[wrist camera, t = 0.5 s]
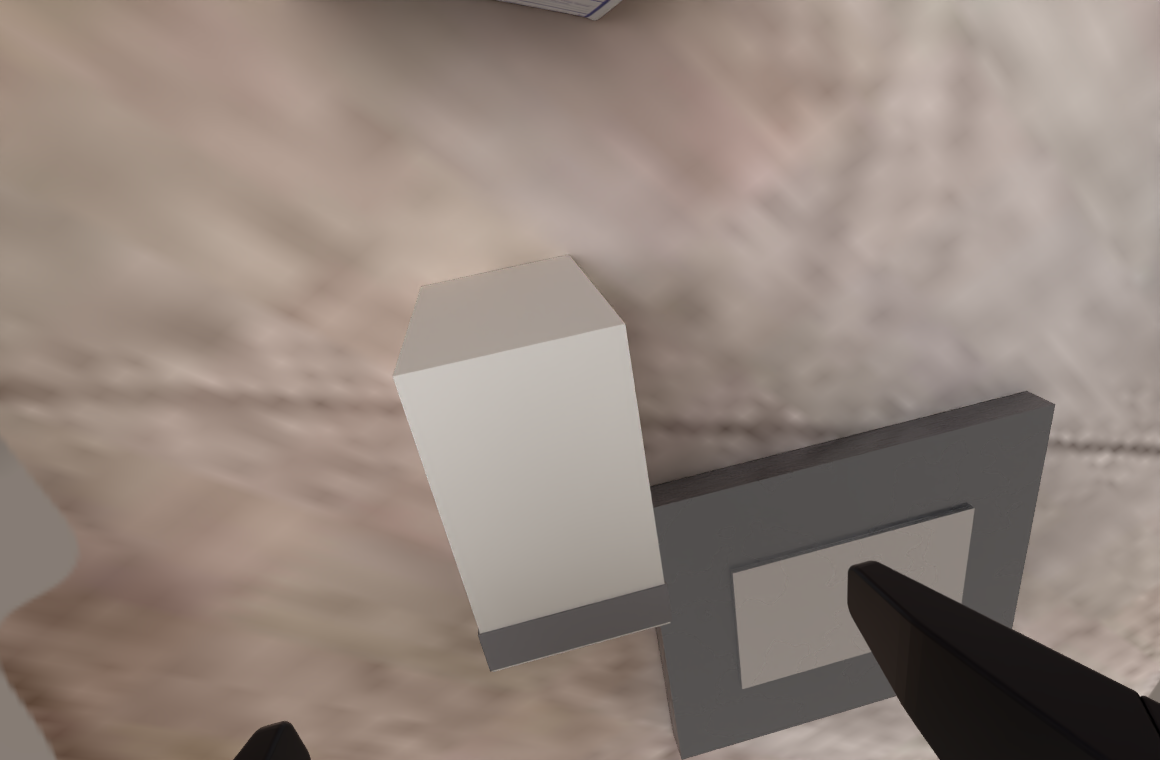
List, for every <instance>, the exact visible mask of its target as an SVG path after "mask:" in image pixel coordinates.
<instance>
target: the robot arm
mask: <svg viewBox="0 0 1160 760" xmlns="http://www.w3.org/2000/svg"><path fill="white" fill-rule="evenodd" d="M847 605H848V609H849V612H850V614H851V617H852V619H853V620H854V622H855V624H856V626H857V627H858V629H859V631H860V633H861V634H862V636H863V638H864V640H865V641H866V643H867V645H868V647H869V648H870V650H871V652H872V654H873V656H874V657H875V659H876V661H877V663H878V664H879V666H880V668H881V670H882V671H883V673H884V675H885V677H886V678H887V680H888V682H889V684H890V685H891V687H892V689H893V691H894V692H895V694H896V696H897V697H898V699H899V701H900V702H901V704H902V706H903V707H904V709H905V710H906V712H907V713H908V715H909V716H910V718H911V719H912V721H913V722H914V724H915V725H916V727H917V728H918V729H919V731H920V732H921V734H922V735H923V737H924V738H925V739H926V741H927V742H928V744H929V745H930V747H931V748H932V749H933V751H934V752H935V754H936V755H937V757H938V758H939V759H940V760H1160V703H1158V702H1156V701H1154V700H1152V699H1150V698H1148V697H1146V696H1139V694H1138V693H1137V692H1136V691H1134V690H1132V689H1130V688H1128V687H1126V686H1124V685H1122V684H1120V683H1118V682H1116V681H1114V680H1112V679H1110V678H1108V677H1106V676H1104V675H1102V674H1100V673H1098V672H1096V671H1094V670H1092V669H1090V668H1088V667H1086V666H1084V665H1082V664H1080V663H1078V662H1076V661H1074V660H1072V659H1070V658H1068V657H1066V656H1064V655H1062V654H1060V653H1058V652H1056V651H1054V650H1052V649H1050V648H1049V647H1047V646H1045V645H1043V644H1041V643H1039V642H1037V641H1035V640H1033V639H1031V638H1029V637H1027V636H1025V635H1023V634H1021V633H1019V632H1017V631H1015V630H1013V629H1011V628H1009V627H1007V626H1005V625H1003V624H1001V623H999V622H997V621H995V620H993V619H991V618H989V617H987V616H985V615H983V614H981V613H979V612H977V611H975V610H973V609H971V608H969V607H967V606H965V605H963V604H961V603H959V602H957V601H955V600H953V599H951V598H949V597H947V596H945V595H943V594H941V593H939V592H937V591H935V590H933V589H931V588H929V587H927V586H925V585H923V584H921V583H919V582H917V581H915V580H913V579H911V578H909V577H907V576H905V575H903V574H901V573H899V572H897V571H895V570H894V569H892V568H890V567H888V566H886V565H884V564H882V563H880V562H877V561H872V560H871V561H866V562H862V563H859V564H855V565H852V566H850V568H849V570H848V581H847ZM233 760H311V759H310V755H309V752H308V750H307V749H306V747H305V745H304V744H303V742H302V740H301V739H300V737H299V735H298V734H297V732H296V730H295V729H294V727H293V725H292V724H291V723H289V722H288V721H282V722H278V723H274V724H271V725H267V726H264V727H261V728H260V729H258V730H257V731H256V732H255V733H254V734H253V735H252V737H251V738H250V739H249V740H248V742H247V743H246V744H245V746H244V747H243V748H242V749H241V751H240V752H239V753H238V754H237V756H236V757H235V758H234V759H233Z"/></svg>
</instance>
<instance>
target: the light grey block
mask: <svg viewBox="0 0 1160 760" xmlns="http://www.w3.org/2000/svg"><path fill="white" fill-rule="evenodd" d="M393 379H394V382H395V385H396V388H397V391H398V394H399V397H400V400H401V403H402V405H403V408H404V411H405V414H406V417H407V420H408V423H409V426H410V429H411V432H412V435H413V438H414V441H415V444H416V447H417V450H418V452H419V455H420V458H421V461H422V464H423V467H424V470H425V473H426V476H427V479H428V482H429V485H430V488H431V491H432V494H433V497H434V499H435V502H436V505H437V508H438V511H439V514H440V517H441V520H442V523H443V526H444V529H445V532H446V535H447V538H448V541H449V543H450V546H451V549H452V552H453V555H454V558H455V561H456V564H457V567H458V570H459V573H460V576H461V579H462V582H463V585H464V588H465V590H466V593H467V596H468V599H469V602H470V605H471V608H472V611H473V614H474V617H475V620H476V623H477V626H478V637H479V640H480V643H481V646H482V649H483V652H484V654H485V657H486V660H487V663H488V666H489V669H490V671H493V672H495V671H499V670H502V669H506V668H510V667H513V666H517V665H520V664H524V663H528V662H531V661H535V660H539V659H542V658H546V657H549V656H553V655H557V654H560V653H564V652H568V651H571V650H575V649H578V648H582V647H586V646H589V645H593V644H597V643H600V642H604V641H607V640H611V639H615V638H618V637H622V636H626V635H629V634H633V633H636V632H640V631H644V630H647V629H651V628H655V627H658V626H662V625H665V624H669V623H670V622H672V614H671V607H670V600H669V594H668V587H667V583H666V581H665V579H664V576H663V570H662V564H661V557H660V551H659V544H658V537H657V531H656V524H655V517H654V511H653V504H652V498H651V491H650V484H649V478H648V471H647V465H646V458H645V451H644V445H643V438H642V431H641V425H640V418H639V412H638V405H637V398H636V392H635V385H634V379H633V372H632V365H631V359H630V352H629V346H628V339H627V332H626V326H625V323H624V322H623V320H622V319H621V318H620V317H619V315H618V314H617V313H616V312H615V310H614V309H613V308H612V307H611V306H610V304H609V303H608V302H607V301H606V299H605V298H604V297H603V296H602V294H601V293H600V292H599V291H598V290H597V288H596V287H595V286H594V285H593V283H592V282H591V281H590V280H589V278H588V277H587V276H586V275H585V274H584V272H583V271H582V270H581V269H580V267H579V266H578V265H577V264H576V262H575V261H574V260H573V259H572V257H571V256H570V255H565V256H560V257H556V258H551V259H546V260H542V261H537V262H532V263H528V264H523V265H518V266H514V267H509V268H505V269H500V270H495V271H491V272H486V273H481V274H477V275H472V276H467V277H463V278H458V279H453V280H449V281H444V282H440V283H435V284H430V285H426V286H421V288H420V291H419V294H418V298H417V301H416V304H415V307H414V310H413V313H412V317H411V320H410V323H409V326H408V329H407V333H406V336H405V339H404V342H403V345H402V349H401V352H400V355H399V358H398V361H397V364H396V368H395V371H394V374H393Z"/></svg>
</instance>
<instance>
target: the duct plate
mask: <svg viewBox="0 0 1160 760" xmlns="http://www.w3.org/2000/svg"><path fill="white" fill-rule="evenodd" d="M1054 408H1055V404H1053V403H1051V402H1049V401H1047V400H1045V399H1043V398H1041V397H1038V396H1036V395H1034V394H1032V393H1030V392H1028V391H1026V392H1022V393H1018V394H1014V395H1011V396H1007V397H1003V398H999V399H995V400H991V401H987V402H983V403H979V404H975V405H971V406H967V407H963V408H959V409H955V410H951V411H948V412H944V413H940V414H936V415H932V416H928V417H924V418H920V419H916V420H912V421H908V422H904V423H900V424H896V425H892V426H888V427H885V428H881V429H877V430H873V431H869V432H865V433H861V434H857V435H853V436H849V437H845V438H841V439H837V440H833V441H829V442H825V443H822V444H818V445H814V446H810V447H806V448H802V449H798V450H794V451H790V452H786V453H782V454H778V455H774V456H770V457H766V458H762V459H759V460H755V461H751V462H747V463H743V464H739V465H735V466H731V467H727V468H723V469H719V470H715V471H711V472H707V473H703V474H699V475H696V476H692V477H688V478H684V479H680V480H676V481H672V482H668V483H664V484H660V485H656V486H652V487H650V491H651V498H652V504H653V511H654V517H655V524H656V531H657V537H658V544H659V551H660V557H661V564H662V570H663V576H664V579H665V581H666V583H667V587H668V594H669V600H670V607H671V614H672V622H670V623H669V624H665V625H662V626H658V627H656V632H657V638H658V645H659V651H660V657H661V663H662V669H663V675H664V681H665V687H666V693H667V699H668V705H669V711H670V717H671V723H672V730H673V735H674V738H675V741H676V744H677V747H678V750H679V753H680V756H681V759H682V760H683V759H686V758H689V757H693V756H696V755H699V754H703V753H706V752H709V751H713V750H716V749H720V748H723V747H726V746H730V745H733V744H736V743H740V742H743V741H746V740H750V739H753V738H756V737H760V736H763V735H767V734H770V733H773V732H777V731H780V730H783V729H787V728H790V727H793V726H797V725H800V724H804V723H807V722H810V721H814V720H817V719H820V718H824V717H827V716H830V715H834V714H837V713H841V712H844V711H847V710H851V709H854V708H857V707H861V706H864V705H867V704H871V703H874V702H877V701H881V700H884V699H888V698H891V697H894V696H896V694H895V692H894V691H893V689H892V687H891V685H890V684H889V682H888V680H887V678H886V677H885V675H884V673H883V671H882V670H881V668H880V666H879V664H878V663H877V661H876V659H875V657H874V656H873V654H872V652H871V650H870V648H869V647H868V645H867V643H866V641H865V640H864V638H863V636H862V634H861V633H860V631H859V629H858V627H857V626H856V624H855V622H854V620H853V619H852V617H851V614H850V612H849V609H848V605H847V581H848V570H849V568H850V566H852V565H855V564H859V563H862V562H866V561H871V560H872V561H877V562H880V563H882V564H884V565H886V566H888V567H890V568H892V569H894V570H895V571H897V572H899V573H901V574H903V575H905V576H907V577H909V578H911V579H913V580H915V581H917V582H919V583H921V584H923V585H925V586H927V587H929V588H931V589H933V590H935V591H937V592H939V593H941V594H943V595H945V596H947V597H949V598H951V599H953V600H955V601H957V602H959V603H961V604H963V605H965V606H967V607H969V608H971V609H973V610H975V611H977V612H979V613H981V614H983V615H985V616H987V617H989V618H991V619H993V620H995V621H997V622H999V623H1001V624H1003V625H1005V626H1007V627H1009V628H1011V629H1012V626H1013V621H1014V615H1015V610H1016V605H1017V600H1018V595H1019V589H1020V584H1021V579H1022V574H1023V569H1024V564H1025V558H1026V553H1027V548H1028V543H1029V538H1030V532H1031V527H1032V522H1033V517H1034V512H1035V507H1036V501H1037V496H1038V491H1039V486H1040V481H1041V475H1042V470H1043V465H1044V460H1045V455H1046V450H1047V444H1048V439H1049V434H1050V429H1051V424H1052V419H1053V413H1054Z"/></svg>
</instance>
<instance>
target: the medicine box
mask: <svg viewBox="0 0 1160 760" xmlns="http://www.w3.org/2000/svg"><path fill="white" fill-rule="evenodd" d="M498 1H504V2H509V3H514V4H520V5H525V6H530V7H536V8H541V9H546V10H552V11H557V12H562V13H567V14H572V15H577V16H582V17H586V18H589V19H591V20H598V19H600V18H601V17H602V16H604V15H605V14H606V13H607V12H609V11H610V10H611V9H612V8H614V7H615V6H616V5H617V4H618V3H620V2H621V1H622V0H498Z"/></svg>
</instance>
